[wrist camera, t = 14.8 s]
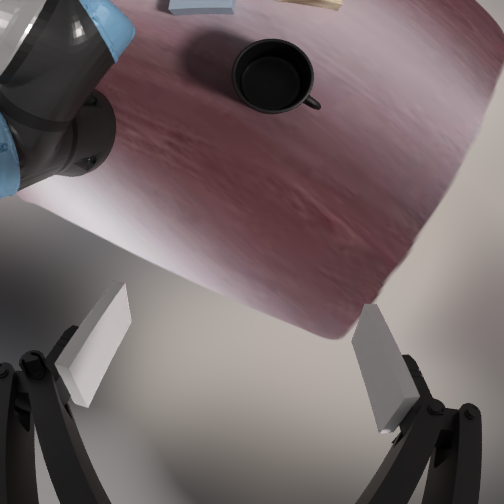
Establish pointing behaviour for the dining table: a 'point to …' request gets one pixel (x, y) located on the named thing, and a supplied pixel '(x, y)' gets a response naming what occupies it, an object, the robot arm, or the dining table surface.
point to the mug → (273, 77)
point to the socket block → (201, 7)
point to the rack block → (318, 3)
